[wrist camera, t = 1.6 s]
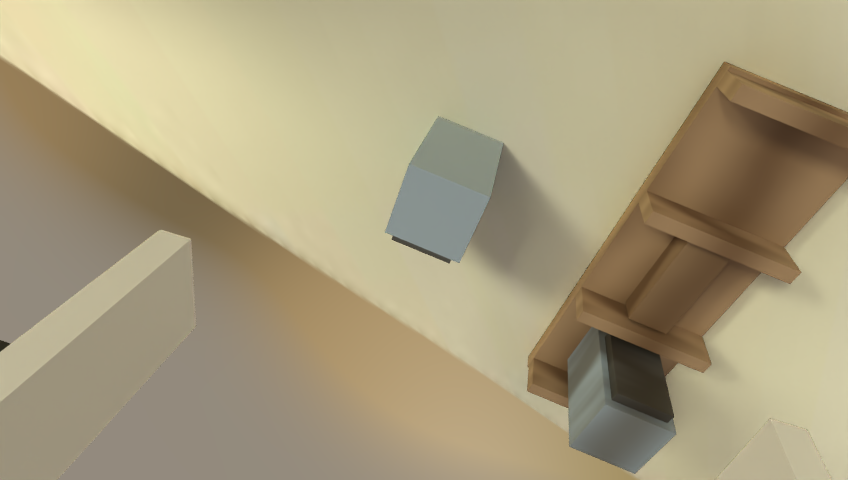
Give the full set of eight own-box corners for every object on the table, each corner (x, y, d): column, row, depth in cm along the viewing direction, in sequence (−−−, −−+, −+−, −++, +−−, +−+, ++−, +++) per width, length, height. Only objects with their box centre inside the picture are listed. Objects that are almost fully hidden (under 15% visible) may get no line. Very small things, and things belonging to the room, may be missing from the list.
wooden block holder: (528, 357, 37) (521, 452, 30) (724, 61, 25) (784, 112, 18) (631, 400, 37) (647, 504, 30) (878, 125, 25) (995, 199, 18)
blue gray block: (503, 143, 29) (490, 197, 24) (473, 208, 32) (454, 271, 26) (438, 116, 30) (409, 163, 24) (413, 183, 32) (381, 241, 26)
